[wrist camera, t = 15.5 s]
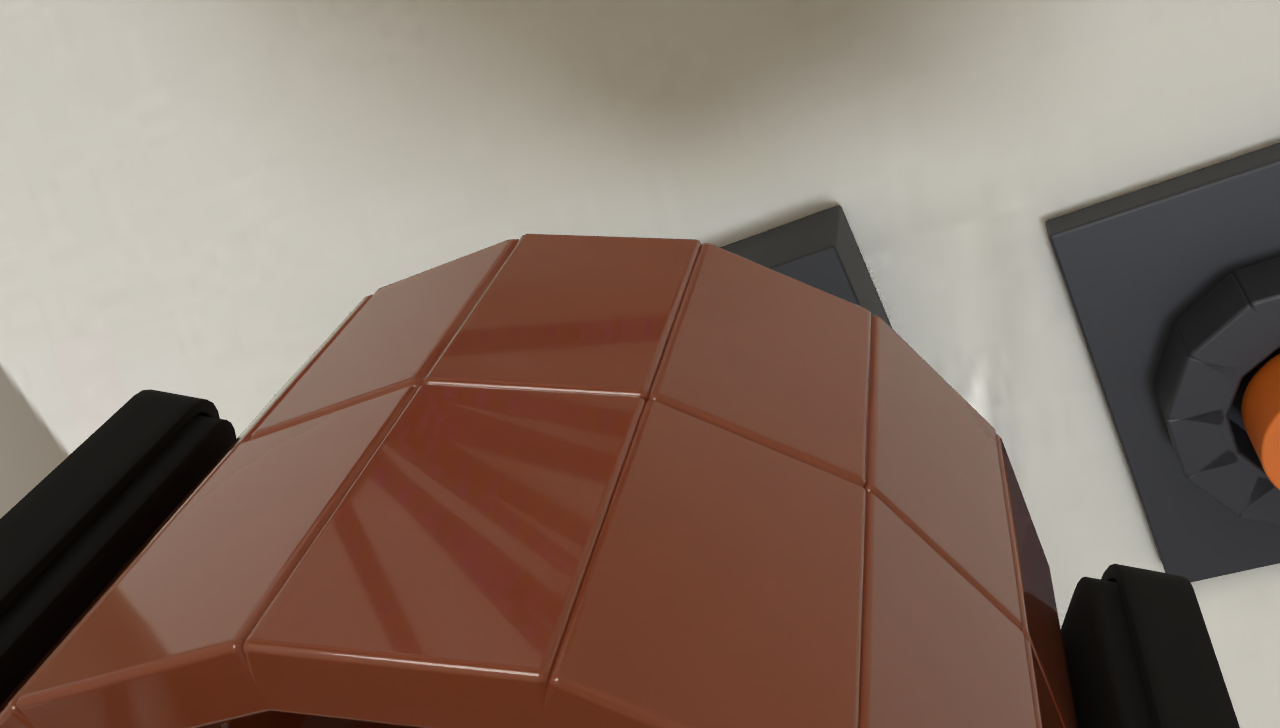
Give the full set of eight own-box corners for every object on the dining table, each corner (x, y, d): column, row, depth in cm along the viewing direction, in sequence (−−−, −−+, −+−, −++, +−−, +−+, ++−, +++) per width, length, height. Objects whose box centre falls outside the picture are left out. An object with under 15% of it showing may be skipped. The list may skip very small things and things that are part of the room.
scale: (348, 381, 32) (297, 445, 29) (840, 203, 27) (832, 261, 24) (580, 746, 37) (555, 830, 35) (1029, 655, 32) (1040, 745, 30)
